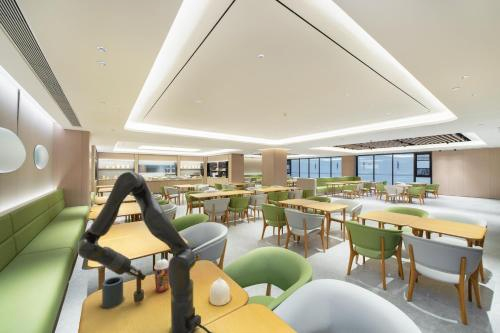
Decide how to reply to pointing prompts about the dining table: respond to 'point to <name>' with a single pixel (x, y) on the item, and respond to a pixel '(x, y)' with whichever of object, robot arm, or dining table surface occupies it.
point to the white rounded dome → (219, 292)
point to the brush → (138, 291)
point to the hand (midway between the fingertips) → (142, 277)
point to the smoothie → (161, 275)
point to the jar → (112, 292)
